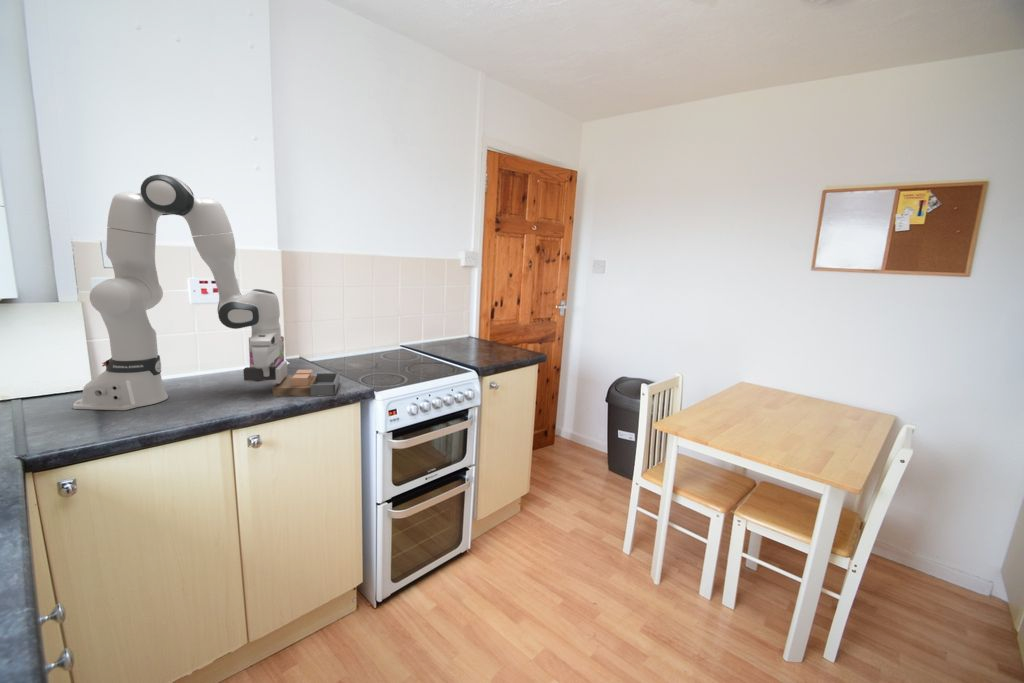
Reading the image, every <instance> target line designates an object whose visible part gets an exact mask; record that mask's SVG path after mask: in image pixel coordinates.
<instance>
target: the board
mask: <svg viewBox="0 0 1024 683" xmlns="http://www.w3.org/2000/svg"><path fill="white" fill-rule="evenodd" d="M293 376H294V375H293ZM293 376H292V375H291V376H287V375H286V376H285V378H284V379H283V380H282V381H281V383H275V385H274V386H273V387H272V397H273V396H280V398H281V396H282V397H305V396H306V397H312V396H311V387H310V385H312V384H316V383H317V375H313V378H312V380H311V381H310V383H309V385H308V386H292V377H293Z"/></svg>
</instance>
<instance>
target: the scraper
mask: <svg viewBox="0 0 1024 683" xmlns="http://www.w3.org/2000/svg"><path fill="white" fill-rule="evenodd" d="M287 363H288V362H287V360H284V361H283V362H282V363H281V364H280V365H279V366H278V367H269V370H270V376H269V377H264V373H263V370H262V368H255V367H250V366H249V367H248V366H247V367H245V368H243V370H242V371H243V381H246V382H247V381H254V380H259V381H275V384H277V383H281V381H282V380H283V379H284V378H285V377H286V376H287V375H288V364H287Z"/></svg>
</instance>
